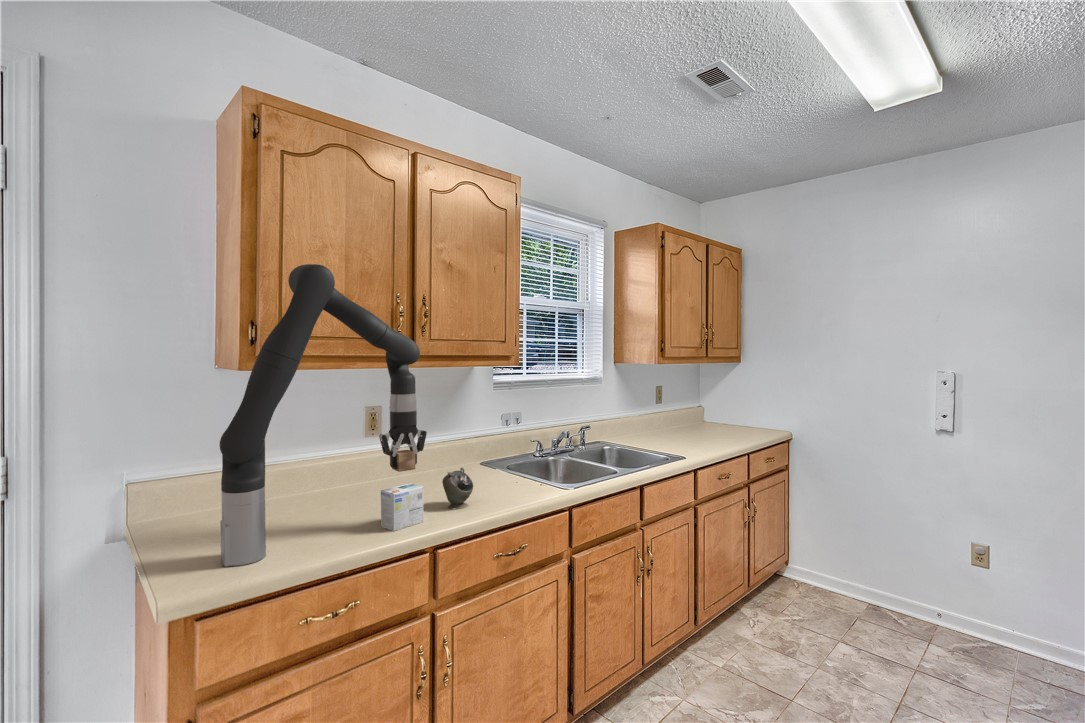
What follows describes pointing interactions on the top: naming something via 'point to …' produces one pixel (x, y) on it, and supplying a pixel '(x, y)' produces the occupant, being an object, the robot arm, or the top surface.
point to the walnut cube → (405, 460)
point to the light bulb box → (401, 506)
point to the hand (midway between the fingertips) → (403, 467)
